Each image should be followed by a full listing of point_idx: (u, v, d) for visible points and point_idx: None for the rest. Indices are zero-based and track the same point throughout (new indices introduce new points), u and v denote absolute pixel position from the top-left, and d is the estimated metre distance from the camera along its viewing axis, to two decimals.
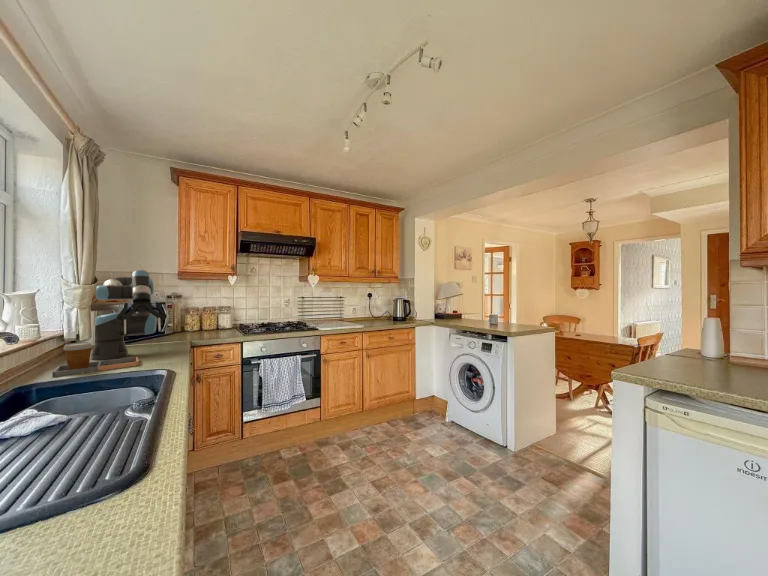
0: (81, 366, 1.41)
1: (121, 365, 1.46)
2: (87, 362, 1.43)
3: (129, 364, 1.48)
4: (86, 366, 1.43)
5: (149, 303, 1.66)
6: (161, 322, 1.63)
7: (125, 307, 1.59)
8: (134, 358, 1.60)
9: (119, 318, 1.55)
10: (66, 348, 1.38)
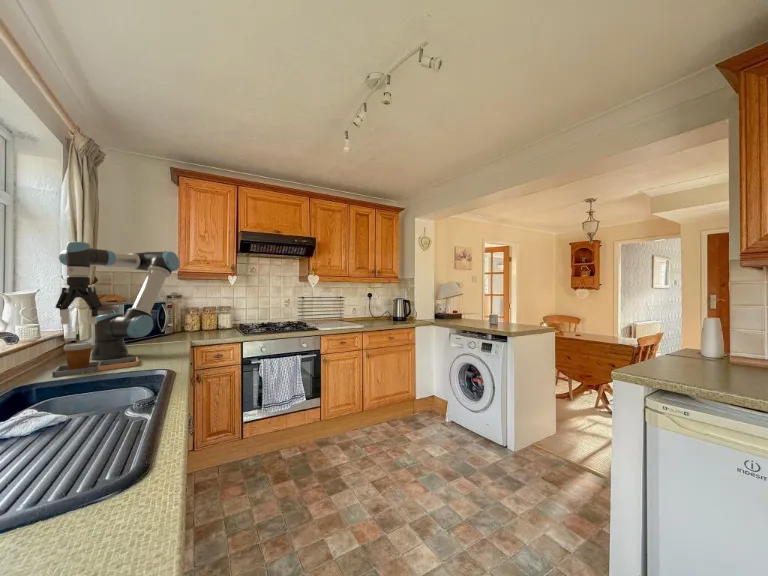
0: (81, 366, 1.41)
1: (121, 365, 1.46)
2: (87, 362, 1.43)
3: (129, 364, 1.48)
4: (86, 366, 1.43)
5: (82, 288, 1.41)
6: (93, 315, 1.41)
7: (62, 293, 1.42)
8: (134, 358, 1.60)
9: (59, 306, 1.43)
10: (66, 348, 1.38)
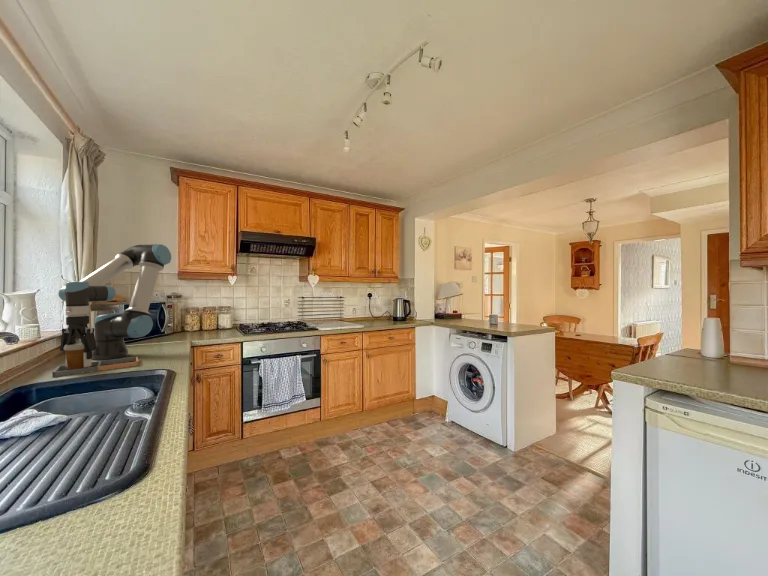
0: (81, 366, 1.41)
1: (121, 365, 1.46)
2: None
3: (129, 364, 1.48)
4: None
5: (81, 328, 1.41)
6: (87, 358, 1.41)
7: (63, 334, 1.42)
8: (134, 358, 1.60)
9: None
10: (66, 348, 1.38)
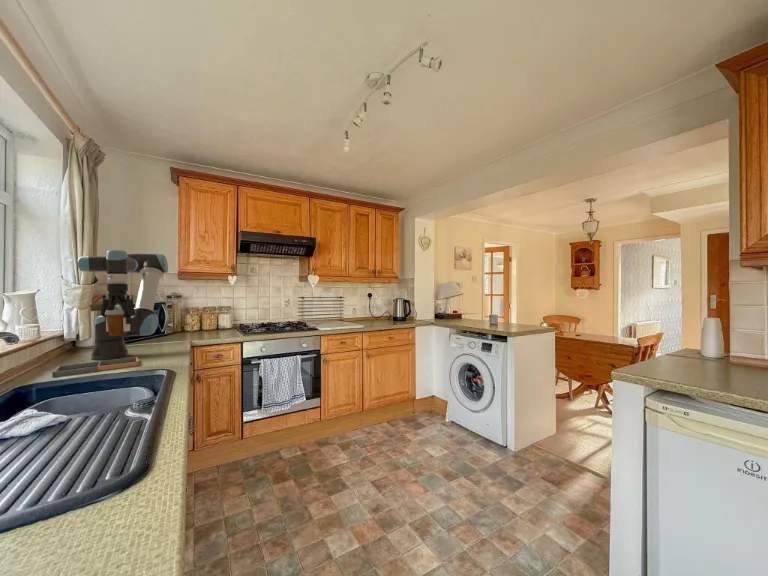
0: (121, 330, 1.49)
1: (121, 365, 1.46)
2: None
3: (129, 364, 1.48)
4: None
5: (121, 294, 1.50)
6: (127, 322, 1.50)
7: (103, 301, 1.51)
8: (134, 358, 1.60)
9: (104, 314, 1.51)
10: (107, 313, 1.47)
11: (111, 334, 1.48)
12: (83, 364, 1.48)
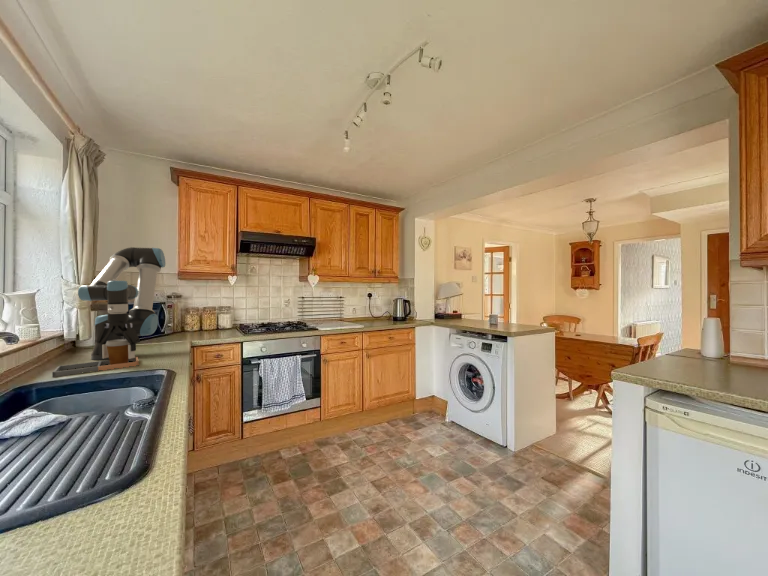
0: (122, 361, 1.50)
1: (121, 365, 1.46)
2: (127, 357, 1.52)
3: (129, 364, 1.48)
4: (126, 361, 1.52)
5: (122, 325, 1.50)
6: (132, 349, 1.50)
7: (103, 329, 1.51)
8: (134, 358, 1.60)
9: (100, 341, 1.52)
10: (108, 344, 1.47)
11: None
12: (83, 364, 1.48)
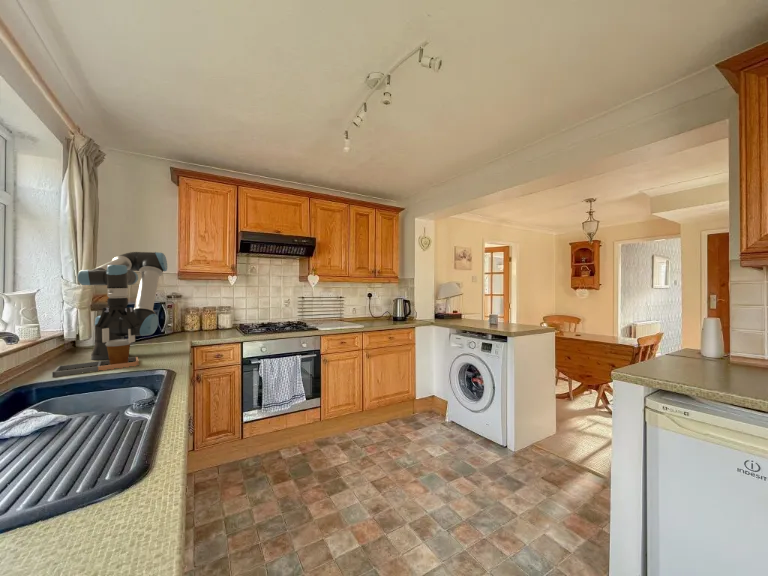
0: (122, 361, 1.50)
1: (121, 365, 1.46)
2: (127, 357, 1.52)
3: (129, 364, 1.48)
4: (126, 361, 1.52)
5: (121, 309, 1.50)
6: (132, 334, 1.50)
7: (103, 313, 1.51)
8: (134, 358, 1.60)
9: (100, 325, 1.52)
10: (108, 344, 1.47)
11: None
12: (83, 364, 1.48)
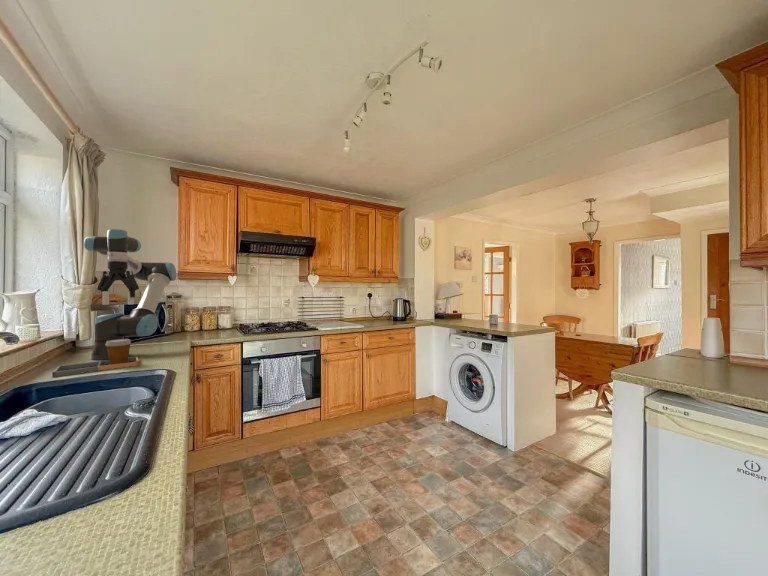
0: (122, 361, 1.50)
1: (121, 365, 1.46)
2: (127, 357, 1.52)
3: (129, 364, 1.48)
4: (126, 361, 1.52)
5: (121, 272, 1.55)
6: (131, 296, 1.55)
7: (103, 276, 1.56)
8: (134, 358, 1.60)
9: (100, 288, 1.57)
10: (108, 344, 1.47)
11: None
12: (83, 364, 1.48)
